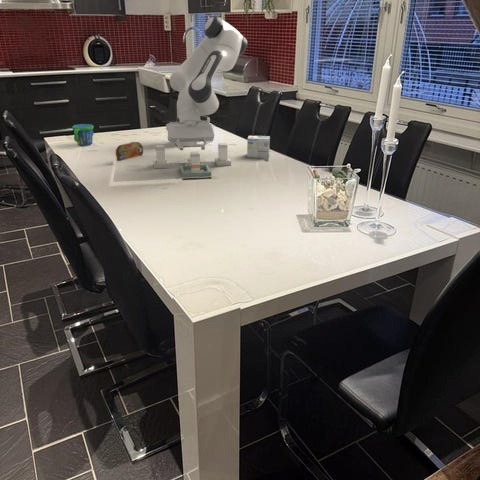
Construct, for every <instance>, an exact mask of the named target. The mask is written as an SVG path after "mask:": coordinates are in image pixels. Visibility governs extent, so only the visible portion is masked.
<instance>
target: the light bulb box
mask: <svg viewBox="0 0 480 480" xmlns="http://www.w3.org/2000/svg"><path fill="white" fill-rule="evenodd" d="M270 139H271V136H270V135H268V136H267V135H248V137H247V141H246V143H247V147H246V148H247V149H246V150H247V151H246V152H247V153H246V158H260V159H262V161H269V159H270V143H271V142H270V141H271V140H270Z"/></svg>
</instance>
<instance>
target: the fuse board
mask: <svg viewBox="0 0 480 480" xmlns="http://www.w3.org/2000/svg"><path fill="white" fill-rule="evenodd" d="M184 165H191V158H184V162H169V159H165V163H157V159H153V168H154V170H168V169H169V170H171V169H172V170H173V169H180V166H184ZM200 165H208V167H209V168H217V167H218V168H219V167H232V160H231V159H230V157H229V156H227V160H225V161H219V160H218V157H214V160H213V161H200Z"/></svg>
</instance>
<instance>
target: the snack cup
mask: <svg viewBox="0 0 480 480" xmlns="http://www.w3.org/2000/svg"><path fill="white" fill-rule="evenodd" d="M71 127H72V131H73V132H74V133H73V134H74V135H73V140H74V142H76V143H77V145H78V146H80V147H87V146H88V147H89V146H91V145H93V141H94V140H93V137H94V134H95V133H94V128H95V127H94V125H93V124H89V123H80V124H74V125H73V126H71Z"/></svg>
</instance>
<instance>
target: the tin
mask: <svg viewBox="0 0 480 480" xmlns="http://www.w3.org/2000/svg"><path fill="white" fill-rule="evenodd" d="M143 154H144V147H143V145H142V143H140V142H138V141H130V142H127V143H123V144H120V145H118V146H117V147H116V149H115V157H116V159H117V160H118V161H124V160H125V161H126V160H127V159H132V158H137V157H142V156H143Z"/></svg>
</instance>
